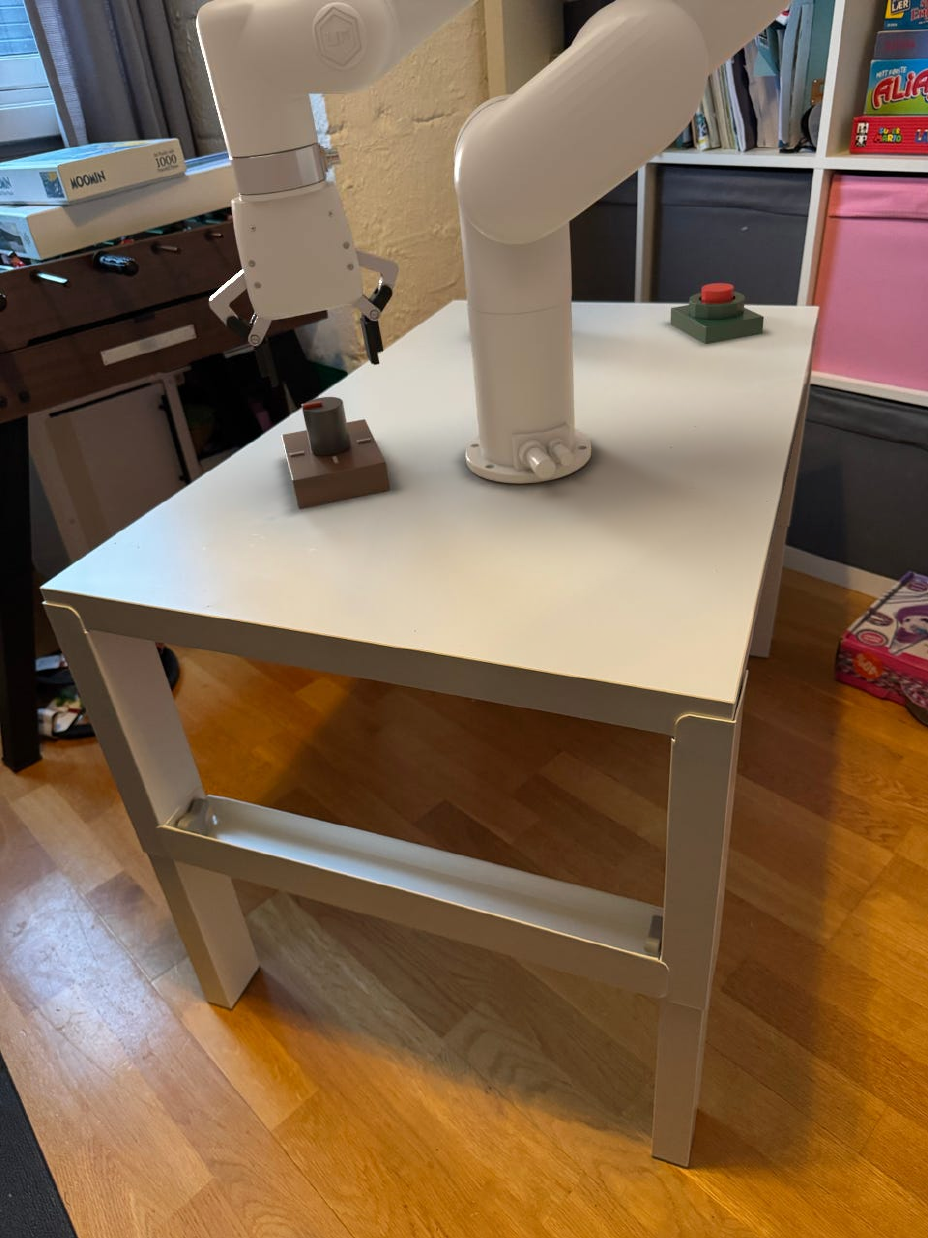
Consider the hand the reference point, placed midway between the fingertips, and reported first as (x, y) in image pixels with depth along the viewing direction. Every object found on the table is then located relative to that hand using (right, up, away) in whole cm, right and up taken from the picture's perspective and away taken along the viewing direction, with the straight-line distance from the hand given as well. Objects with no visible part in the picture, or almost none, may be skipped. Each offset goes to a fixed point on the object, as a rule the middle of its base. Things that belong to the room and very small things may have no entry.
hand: (324, 371), depth 84 cm
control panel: (0, -9, +6) cm, 11 cm away
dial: (0, -6, +4) cm, 8 cm away
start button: (+46, +18, +31) cm, 58 cm away
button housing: (+46, +15, +33) cm, 59 cm away
